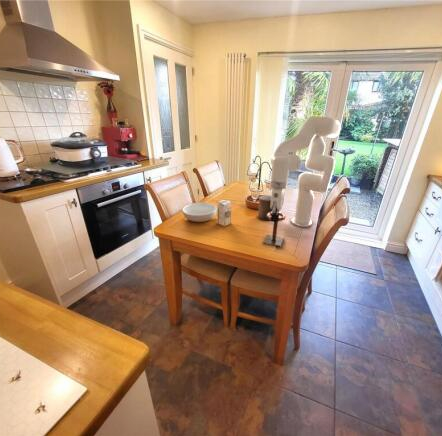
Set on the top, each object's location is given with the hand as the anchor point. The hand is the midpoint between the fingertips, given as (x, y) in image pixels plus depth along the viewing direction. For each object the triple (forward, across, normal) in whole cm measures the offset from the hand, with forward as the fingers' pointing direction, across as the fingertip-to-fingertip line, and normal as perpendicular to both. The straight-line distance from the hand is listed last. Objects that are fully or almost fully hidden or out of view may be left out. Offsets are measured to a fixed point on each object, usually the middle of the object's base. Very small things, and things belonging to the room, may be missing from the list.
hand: (274, 220), depth 114 cm
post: (+15, +4, 0) cm, 15 cm away
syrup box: (+15, +14, +32) cm, 38 cm away
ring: (-1, +4, 0) cm, 4 cm away
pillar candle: (+15, +33, +11) cm, 38 cm away
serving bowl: (+15, +16, +49) cm, 54 cm away
